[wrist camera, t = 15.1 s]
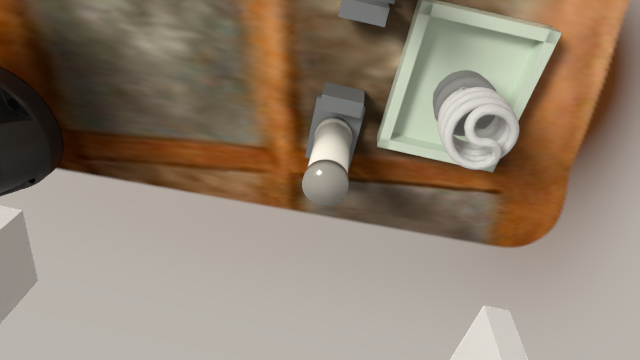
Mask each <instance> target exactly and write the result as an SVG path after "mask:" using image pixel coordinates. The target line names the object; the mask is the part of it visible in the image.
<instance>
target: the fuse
mask: <svg viewBox="0 0 640 360" xmlns="http://www.w3.org/2000/svg"><path fill="white" fill-rule="evenodd" d="M314 137H315V141H314V145H313V149H312V153H311V157H310V161H309V165H308V167H307V169H306V171H305V174H304V178H303V181H302V188H303V192H304V194H305V195H306V197H307V198H308V199H310V200H311V201H312V202H314V203H316V204H319V205H325V206H328V205H334V204H337V203H339V202H340V201H342V200H343V199H344V198H345V196H346V195H347V192H348V185H349V176H348V166H349V155H350V146H351V143H352V137H353V131H352V128H351V126H350V125H349V123H348V122H347V121H345V120H344V119H342V118H339V117H328V118H325V119H323V120H322V121H321V122H320V123H319V124H318V126H317V128H316V131H315V136H314Z"/></svg>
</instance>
